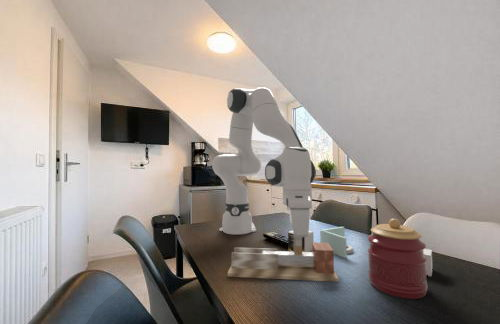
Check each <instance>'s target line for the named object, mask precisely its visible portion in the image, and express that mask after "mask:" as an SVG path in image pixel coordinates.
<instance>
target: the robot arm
mask: <svg viewBox="0 0 500 324" xmlns="http://www.w3.org/2000/svg"><path fill="white" fill-rule="evenodd" d="M226 103H227V108H228V109H229V111H230V112H232V115H231V119H230V125H229V135H228V141H229V144H230V145H231V146H232V147H234V148H235V149H237V154H234V153H233V154H232V153H230V154H228V153H225V154H219V155H218V154H217V155H216V156H214V158H213V160H212V163H211V167H212V171H213V172H214V174H215V175H216V176H218V177H219V178H220V179H221V180H222V182H223V185H224V186H225V193H226V194H225V195H226V197H225V198H226V203H225V212H224V213H223V214H222V224H221V225H222V227H220V228H219V231H220V232H222V231H223V232H222V233H224V234H226V235H247V234H250V233H255V232H257V228H256V226H255V224H254V221H253V219H252V216H253V215H252V214H251V213H250V203H249V189H248V187H247V185H246V184H244V183H243V182H241V181H239V178H238V176H239V177H240V176H244V177H245V176H247V177H248V176H252V175H253V176H254V175H257V174H258V173H259V172H260V171H261V167H262V166H261V165H262V164H261V159H260V158H259V157H258V156H257V155H256V153H254V150H253V147H252V138H253V129H254V127H255V129H256V130H257V132H259V133H260V134H262V135H265V136H268V137H269V138H273V139H275V140H277V141H278V142H279V141H280V142H281V143H282V144H283V145H284V146H285V148H284V149H283V150H282V152H281V154H279V155H278V156H277V157H274V158H273V159H270V160H269V161H268V162H267V163H266V165H265V168H264V175H265V176H264V177H265V179H266V181H267V182H268V184H270V185H271V186H274V187H282V204H283V205H285V206H286V209H287V211H289V220H290V225H291V226H290V227H291V229H292V230H293V233H294V236H295V245H296V246H301V245H302V237H307V236H308V231H310V229H309V228H310V214H311V213H310V212H311V211H310V209H312V207H313V206H312V205H313V195H312V194H313V189H312V188H313V187H312V183H313V182H314V181H315V179H316V176H317V168H316V166H315V164H314V163H313V161H312V160H311V154H310V151H309V149H307V148H305V147H304V146H303V144H302V143H301V141H300V137H298V135H297V132H296V131H295V129H294V127H293V126H292V125H291V124H290V123H289V122H288V121H287V120H286V119H285V117H284V116H283V114H282V112H281V111H280V109H279V105H278V103H277V100H276V98H275V96H274V94H273V93H272V91H271V90H270V89H269V88H267V87H257V88H255V89H249V88H248V89H247V88H240V87H239V88H238V87H236V88H233V89H231V90H229V92H228V94H227V98H226ZM219 231H218V232H219Z"/></svg>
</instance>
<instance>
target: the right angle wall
mask: <svg viewBox="0 0 500 324" xmlns="http://www.w3.org/2000/svg"><path fill="white" fill-rule="evenodd" d="M319 233H320V235H319V237H320V238H319V239H320V241H319V243H328V244H329V245H330V246H331V248H332V249H333V251H334V255H336V256H338V257H340V258H343V259H347V258H348V257H347V255H350V254H353V253H354V247H353V246H351V245H349V244H348V245H347V237H346V236H345V235H346V234H345V226H339V227H331V228H325V229H320V230H319Z"/></svg>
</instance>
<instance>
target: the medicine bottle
mask: <svg viewBox="0 0 500 324" xmlns="http://www.w3.org/2000/svg"><path fill="white" fill-rule="evenodd" d="M287 243H288V245H287V247H288V250H287V251H289V252H294V233H293V229H292V230H289V231H288V232H287ZM312 243H315V241H314V231H313V230H309V231H308V236H307V237H302V252H312Z"/></svg>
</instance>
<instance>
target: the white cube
mask: <svg viewBox="0 0 500 324" xmlns="http://www.w3.org/2000/svg"><path fill="white" fill-rule="evenodd" d="M423 252H424V256H425V257H426V276H427V275H428V277H432V275H433V270H432V269H433V250H432V249H429V248H428V249H427V248H425V249H424V250H423Z"/></svg>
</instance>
